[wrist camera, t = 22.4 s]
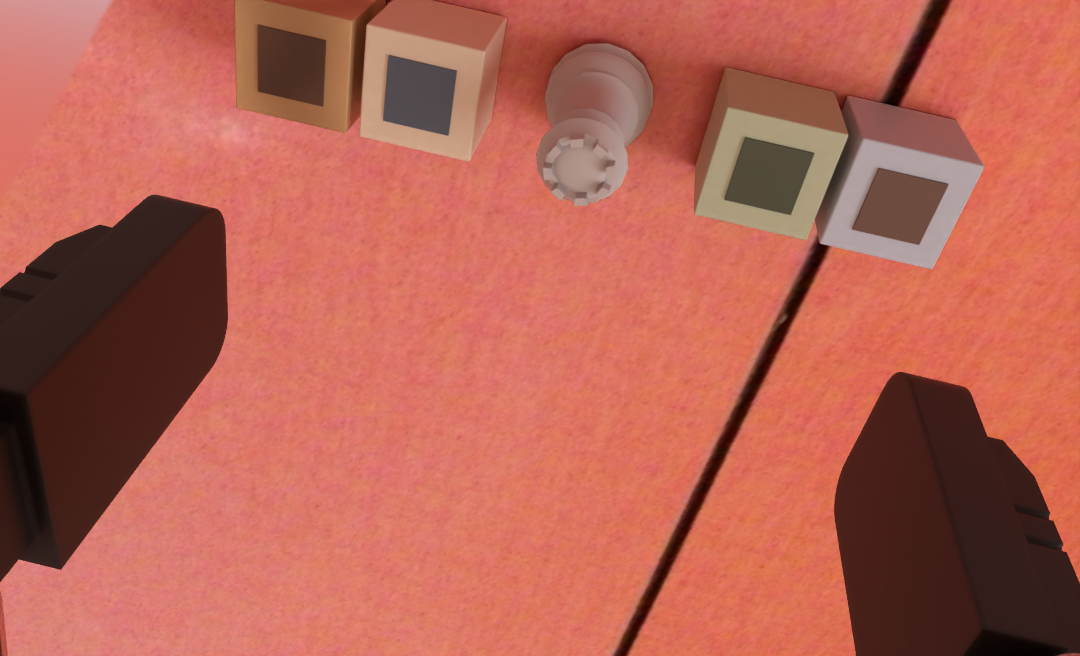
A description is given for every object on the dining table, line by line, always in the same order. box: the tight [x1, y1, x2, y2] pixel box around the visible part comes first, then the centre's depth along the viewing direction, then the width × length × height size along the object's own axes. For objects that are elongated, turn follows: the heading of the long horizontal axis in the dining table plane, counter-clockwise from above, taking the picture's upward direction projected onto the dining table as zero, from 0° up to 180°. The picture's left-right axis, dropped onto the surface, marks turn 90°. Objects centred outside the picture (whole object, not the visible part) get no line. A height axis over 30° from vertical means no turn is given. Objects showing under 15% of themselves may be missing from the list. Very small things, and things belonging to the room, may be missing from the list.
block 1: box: [234, 0, 386, 133], centre depth 36 cm, size 4×4×5 cm
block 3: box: [694, 67, 848, 240], centre depth 36 cm, size 4×4×5 cm
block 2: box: [359, 0, 507, 161], centre depth 36 cm, size 4×4×5 cm
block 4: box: [815, 96, 984, 269], centre depth 36 cm, size 4×4×5 cm
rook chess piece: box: [536, 43, 653, 206], centre depth 35 cm, size 4×4×8 cm
